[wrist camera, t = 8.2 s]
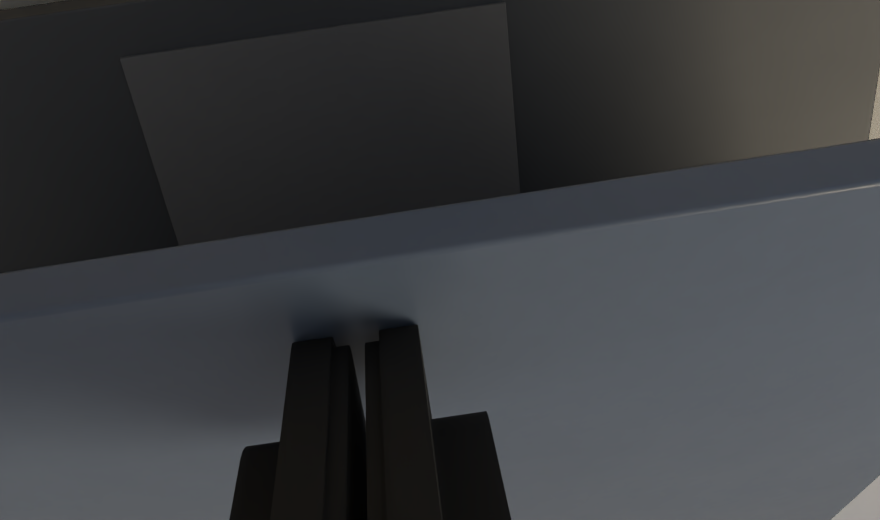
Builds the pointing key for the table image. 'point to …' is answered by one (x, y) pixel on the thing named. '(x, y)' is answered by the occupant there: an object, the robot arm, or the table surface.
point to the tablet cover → (485, 346)
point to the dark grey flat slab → (391, 106)
